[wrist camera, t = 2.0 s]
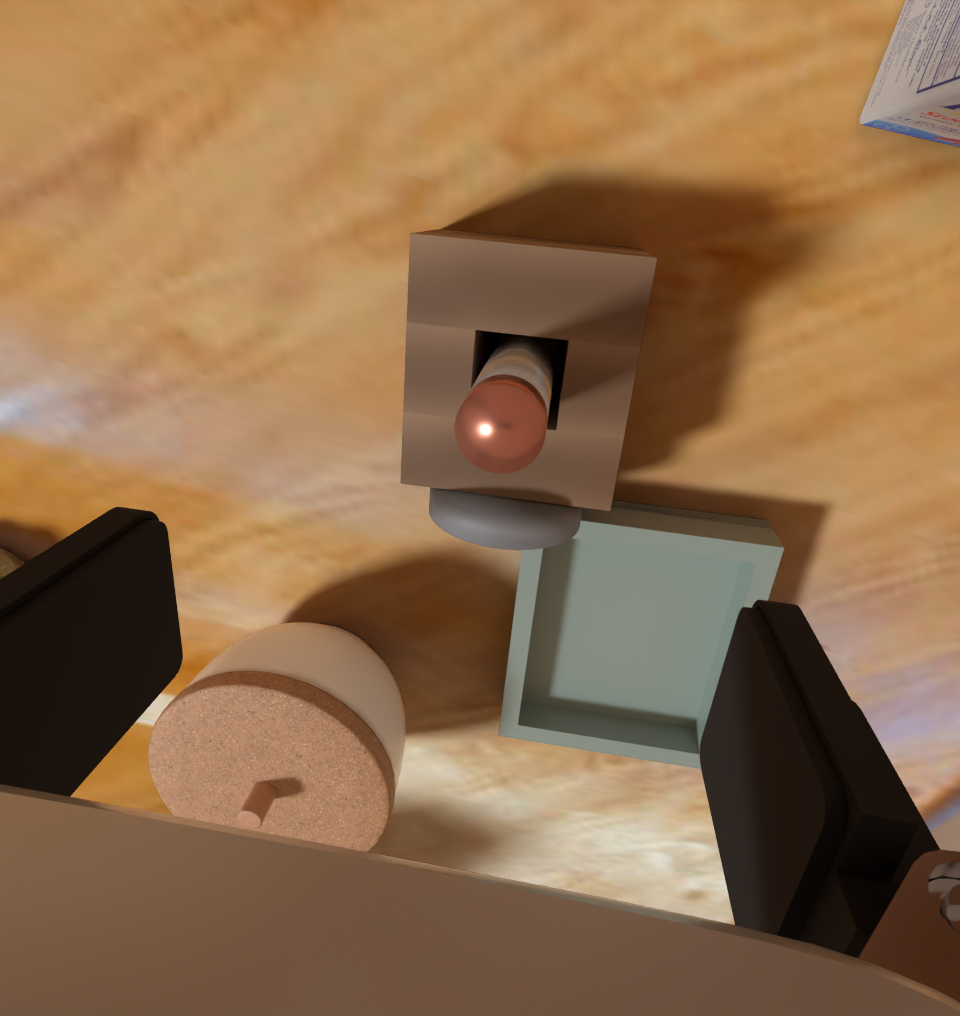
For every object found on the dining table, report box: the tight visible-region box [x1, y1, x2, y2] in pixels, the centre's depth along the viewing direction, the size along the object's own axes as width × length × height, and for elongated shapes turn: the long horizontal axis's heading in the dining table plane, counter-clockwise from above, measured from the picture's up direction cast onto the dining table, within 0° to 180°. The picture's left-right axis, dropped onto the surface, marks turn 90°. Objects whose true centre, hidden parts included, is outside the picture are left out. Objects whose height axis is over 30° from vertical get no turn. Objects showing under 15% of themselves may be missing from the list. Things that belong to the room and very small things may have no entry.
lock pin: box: [455, 333, 557, 474], centre depth 26 cm, size 3×3×12 cm
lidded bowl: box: [148, 622, 406, 852], centre depth 36 cm, size 13×13×11 cm
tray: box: [498, 500, 784, 769], centre depth 35 cm, size 14×12×3 cm
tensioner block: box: [401, 229, 657, 550], centre depth 29 cm, size 12×9×8 cm
